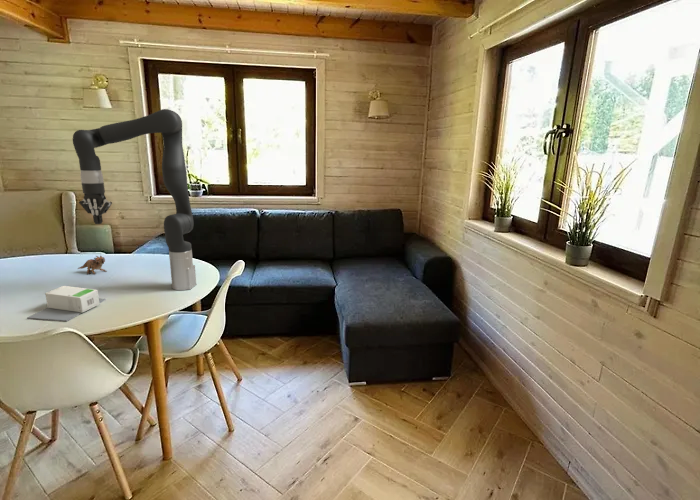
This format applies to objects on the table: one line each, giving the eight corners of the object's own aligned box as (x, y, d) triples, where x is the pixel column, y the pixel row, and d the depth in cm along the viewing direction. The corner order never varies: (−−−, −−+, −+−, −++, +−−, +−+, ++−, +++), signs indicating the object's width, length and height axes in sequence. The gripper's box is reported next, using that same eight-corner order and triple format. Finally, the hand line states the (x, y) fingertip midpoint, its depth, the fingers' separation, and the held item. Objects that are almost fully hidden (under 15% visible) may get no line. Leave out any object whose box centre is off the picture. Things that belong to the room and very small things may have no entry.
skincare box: (80, 297, 140) (43, 292, 142) (82, 314, 142) (46, 309, 144) (98, 289, 148) (63, 284, 150) (100, 304, 150) (66, 299, 152)
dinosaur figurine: (112, 271, 189) (110, 253, 186) (105, 275, 183) (102, 256, 181) (85, 270, 189) (82, 252, 186) (77, 274, 183) (74, 255, 181)
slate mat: (105, 299, 155) (105, 298, 155) (66, 321, 136) (66, 320, 136) (70, 297, 156) (70, 296, 156) (27, 318, 137) (26, 317, 137)
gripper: (114, 181, 157) (119, 222, 162) (83, 180, 158) (90, 221, 163) (101, 183, 150) (107, 226, 155) (69, 181, 151) (76, 224, 156)
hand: (98, 223), depth 159 cm, fingers closed
